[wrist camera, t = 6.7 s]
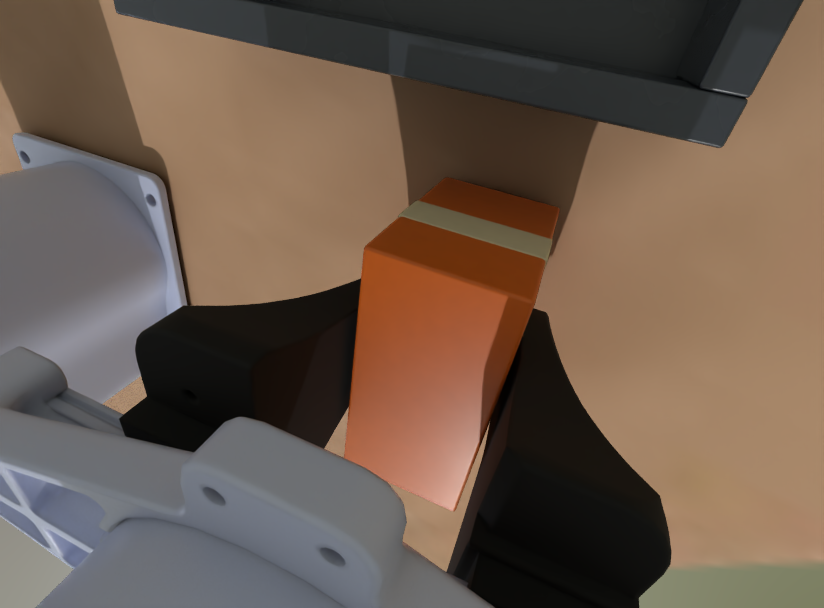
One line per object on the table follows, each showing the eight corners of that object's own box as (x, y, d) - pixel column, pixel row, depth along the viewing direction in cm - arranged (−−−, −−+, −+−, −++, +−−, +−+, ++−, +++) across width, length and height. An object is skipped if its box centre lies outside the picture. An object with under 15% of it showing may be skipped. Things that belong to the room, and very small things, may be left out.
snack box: (495, 385, 16) (455, 514, 11) (410, 353, 17) (341, 463, 12) (561, 206, 12) (537, 301, 7) (445, 174, 13) (361, 244, 8)
